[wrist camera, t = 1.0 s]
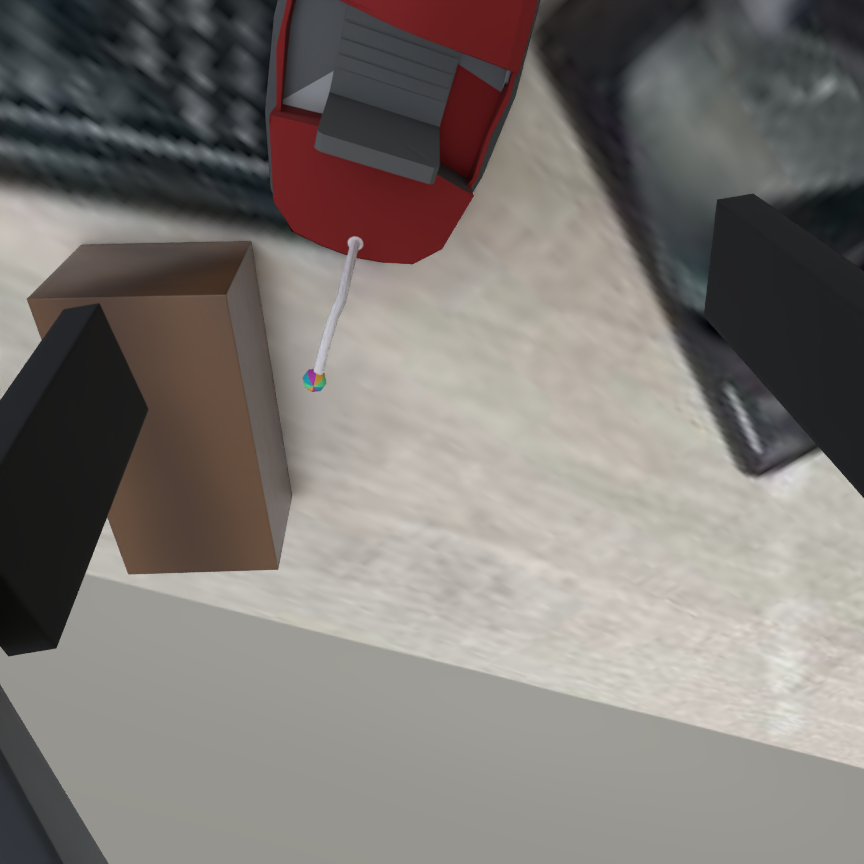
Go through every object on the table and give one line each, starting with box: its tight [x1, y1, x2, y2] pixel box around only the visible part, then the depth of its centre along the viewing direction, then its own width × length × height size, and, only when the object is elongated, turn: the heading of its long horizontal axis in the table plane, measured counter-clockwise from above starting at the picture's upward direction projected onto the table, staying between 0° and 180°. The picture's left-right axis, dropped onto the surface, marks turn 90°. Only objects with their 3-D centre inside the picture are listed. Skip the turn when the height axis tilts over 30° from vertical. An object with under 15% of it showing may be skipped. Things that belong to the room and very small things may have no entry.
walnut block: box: [27, 242, 292, 574], centre depth 36 cm, size 8×16×6 cm, turn 0°
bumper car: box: [265, 0, 540, 392], centre depth 26 cm, size 10×20×10 cm, turn 163°
